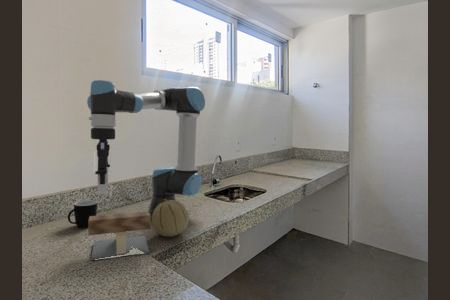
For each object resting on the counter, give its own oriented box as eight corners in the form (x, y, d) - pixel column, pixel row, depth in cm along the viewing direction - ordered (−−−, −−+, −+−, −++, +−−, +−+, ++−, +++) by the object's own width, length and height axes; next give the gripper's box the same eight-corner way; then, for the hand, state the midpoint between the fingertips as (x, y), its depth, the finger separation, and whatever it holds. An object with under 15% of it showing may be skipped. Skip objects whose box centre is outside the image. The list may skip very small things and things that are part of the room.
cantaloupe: (189, 241, 103) (190, 203, 102) (150, 243, 100) (151, 204, 99) (187, 228, 117) (188, 194, 116) (152, 229, 114) (153, 195, 113)
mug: (89, 220, 122) (89, 199, 122) (101, 225, 117) (101, 202, 117) (62, 228, 112) (62, 204, 111) (73, 233, 107) (73, 208, 107)
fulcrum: (144, 238, 105) (145, 220, 104) (149, 253, 92) (149, 233, 91) (94, 244, 98) (94, 225, 97) (91, 261, 85) (91, 240, 84)
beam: (148, 224, 100) (148, 211, 100) (150, 228, 96) (150, 215, 96) (89, 230, 93) (89, 216, 92) (88, 235, 88) (88, 220, 88)
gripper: (93, 127, 100) (93, 182, 101) (87, 127, 77) (87, 199, 78) (115, 127, 103) (115, 181, 104) (115, 127, 80) (115, 197, 81)
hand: (103, 189), depth 91 cm, fingers open, 13 cm apart
